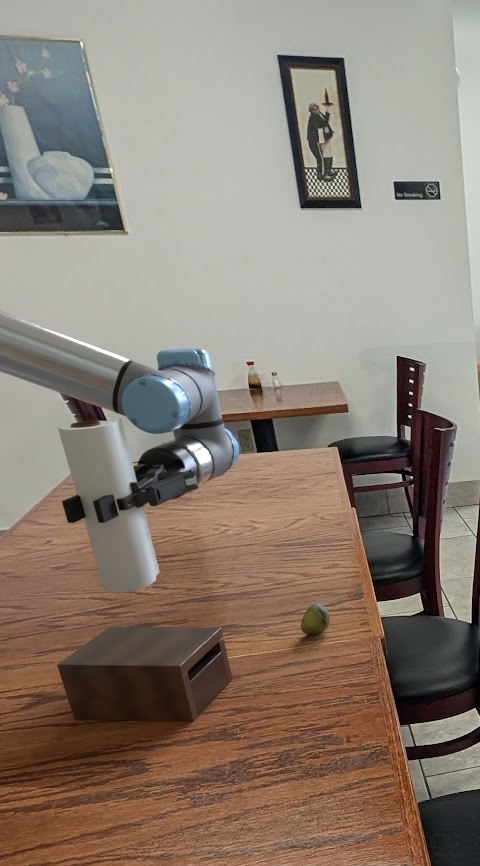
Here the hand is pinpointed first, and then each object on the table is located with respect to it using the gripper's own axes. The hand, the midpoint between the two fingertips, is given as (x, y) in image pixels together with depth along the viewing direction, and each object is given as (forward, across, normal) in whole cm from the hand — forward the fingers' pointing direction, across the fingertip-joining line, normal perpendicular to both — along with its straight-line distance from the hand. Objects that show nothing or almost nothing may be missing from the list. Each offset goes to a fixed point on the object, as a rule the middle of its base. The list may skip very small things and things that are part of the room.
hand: (83, 512), depth 100 cm
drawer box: (0, -3, -26) cm, 26 cm away
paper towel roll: (-5, 0, -12) cm, 13 cm away
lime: (-22, -18, -26) cm, 39 cm away
